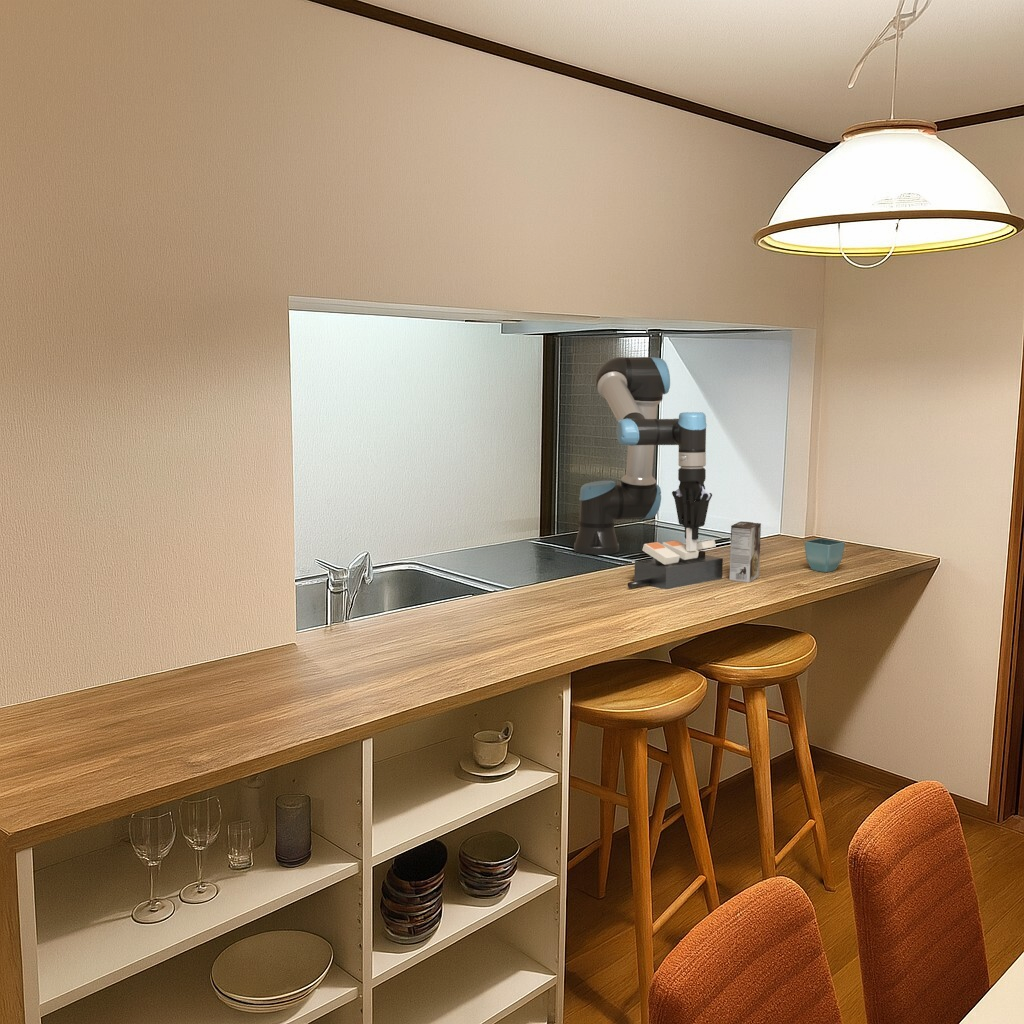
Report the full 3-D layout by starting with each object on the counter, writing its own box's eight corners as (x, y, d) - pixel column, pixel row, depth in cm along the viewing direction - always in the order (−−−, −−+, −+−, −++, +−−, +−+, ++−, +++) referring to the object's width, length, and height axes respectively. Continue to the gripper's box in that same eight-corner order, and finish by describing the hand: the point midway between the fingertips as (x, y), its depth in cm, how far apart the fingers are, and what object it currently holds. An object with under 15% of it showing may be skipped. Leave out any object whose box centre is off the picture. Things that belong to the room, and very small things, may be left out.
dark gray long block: (614, 585, 273) (614, 559, 272) (690, 572, 293) (691, 547, 292) (645, 593, 264) (646, 566, 263) (722, 578, 284) (723, 553, 283)
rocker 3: (680, 553, 287) (678, 546, 287) (693, 551, 290) (691, 544, 290) (703, 548, 280) (701, 541, 280) (715, 546, 283) (714, 539, 283)
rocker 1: (642, 550, 276) (644, 543, 275) (655, 548, 280) (657, 541, 279) (664, 564, 270) (666, 557, 269) (678, 562, 274) (680, 555, 273)
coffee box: (738, 574, 289) (740, 521, 287) (759, 577, 286) (761, 522, 284) (728, 580, 281) (730, 524, 279) (750, 582, 278) (752, 526, 276)
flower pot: (827, 574, 290) (829, 545, 289) (802, 570, 297) (803, 541, 296) (844, 571, 296) (845, 541, 294) (818, 566, 302) (820, 538, 301)
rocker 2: (661, 548, 281) (662, 541, 281) (674, 546, 285) (675, 539, 284) (684, 559, 275) (685, 552, 274) (697, 557, 278) (699, 550, 278)
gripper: (665, 467, 276) (665, 549, 279) (701, 469, 266) (700, 554, 269) (683, 465, 281) (682, 547, 284) (718, 467, 271) (718, 551, 273)
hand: (691, 550), depth 276 cm, fingers closed
